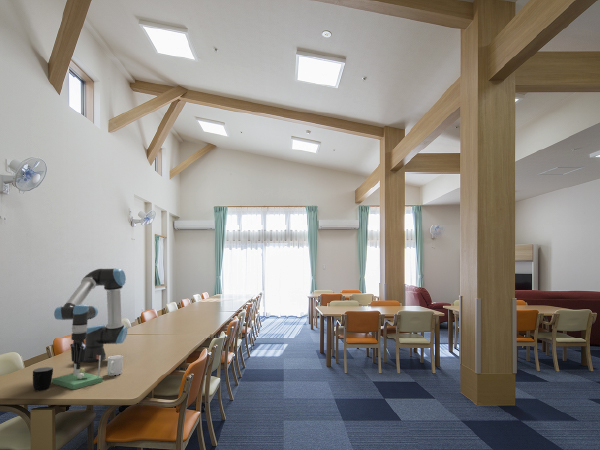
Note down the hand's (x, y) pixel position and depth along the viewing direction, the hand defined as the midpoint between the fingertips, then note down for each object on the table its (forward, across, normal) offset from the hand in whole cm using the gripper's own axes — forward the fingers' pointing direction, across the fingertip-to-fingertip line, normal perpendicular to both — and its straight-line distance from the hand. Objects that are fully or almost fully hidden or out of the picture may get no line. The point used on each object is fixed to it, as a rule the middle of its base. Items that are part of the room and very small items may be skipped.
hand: (76, 374), depth 212 cm
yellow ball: (0, -5, +6) cm, 8 cm away
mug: (+4, -3, -17) cm, 18 cm away
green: (+4, +1, 0) cm, 4 cm away
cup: (+4, +5, +20) cm, 21 cm away
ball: (0, +4, 0) cm, 4 cm away
